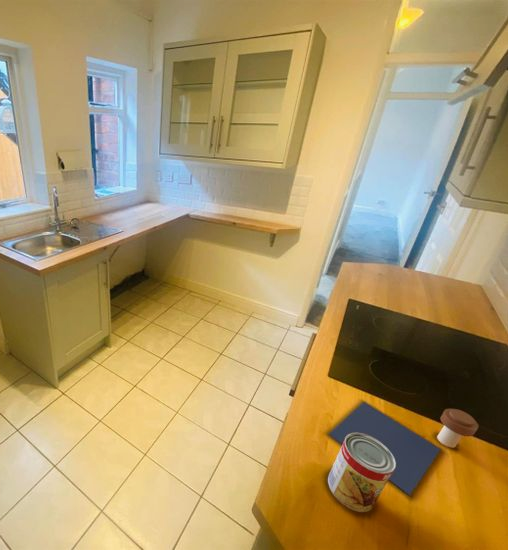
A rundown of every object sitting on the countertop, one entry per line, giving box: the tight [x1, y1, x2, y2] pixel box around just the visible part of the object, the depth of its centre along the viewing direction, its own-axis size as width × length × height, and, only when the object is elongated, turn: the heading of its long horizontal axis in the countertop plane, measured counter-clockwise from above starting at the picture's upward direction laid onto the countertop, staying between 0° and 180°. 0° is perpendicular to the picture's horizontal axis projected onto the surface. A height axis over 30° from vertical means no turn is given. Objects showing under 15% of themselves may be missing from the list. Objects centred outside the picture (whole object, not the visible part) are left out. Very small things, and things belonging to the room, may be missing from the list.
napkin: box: [328, 401, 442, 496], centre depth 71 cm, size 18×16×1 cm
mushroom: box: [436, 408, 479, 449], centre depth 69 cm, size 6×6×8 cm
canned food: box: [327, 433, 396, 513], centre depth 58 cm, size 8×8×12 cm
